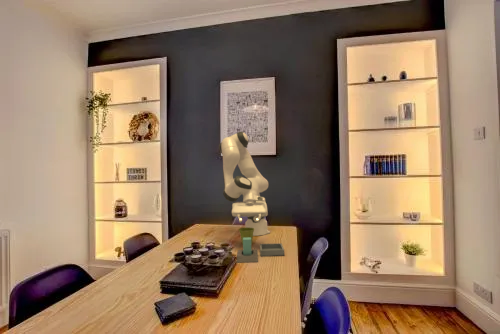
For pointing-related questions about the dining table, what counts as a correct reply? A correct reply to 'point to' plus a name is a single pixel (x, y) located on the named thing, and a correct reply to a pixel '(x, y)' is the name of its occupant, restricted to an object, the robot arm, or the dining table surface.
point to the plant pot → (246, 233)
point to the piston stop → (247, 246)
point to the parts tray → (271, 249)
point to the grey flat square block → (247, 256)
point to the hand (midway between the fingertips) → (249, 221)
